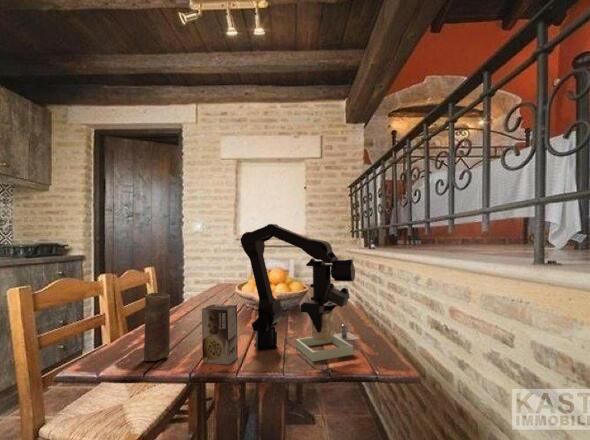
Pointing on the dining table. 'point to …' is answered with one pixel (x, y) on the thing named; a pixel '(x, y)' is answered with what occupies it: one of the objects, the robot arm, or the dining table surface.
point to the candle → (157, 326)
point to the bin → (342, 350)
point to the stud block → (345, 334)
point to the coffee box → (219, 334)
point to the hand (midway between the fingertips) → (322, 330)
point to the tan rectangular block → (324, 328)
